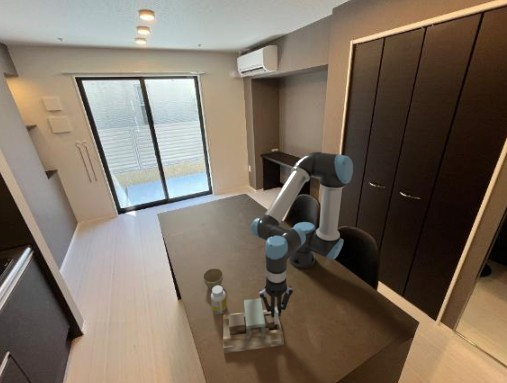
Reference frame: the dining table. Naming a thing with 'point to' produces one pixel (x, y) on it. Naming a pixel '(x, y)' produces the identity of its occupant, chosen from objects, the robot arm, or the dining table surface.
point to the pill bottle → (218, 300)
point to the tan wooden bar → (239, 324)
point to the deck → (251, 337)
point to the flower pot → (213, 277)
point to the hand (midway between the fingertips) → (275, 321)
